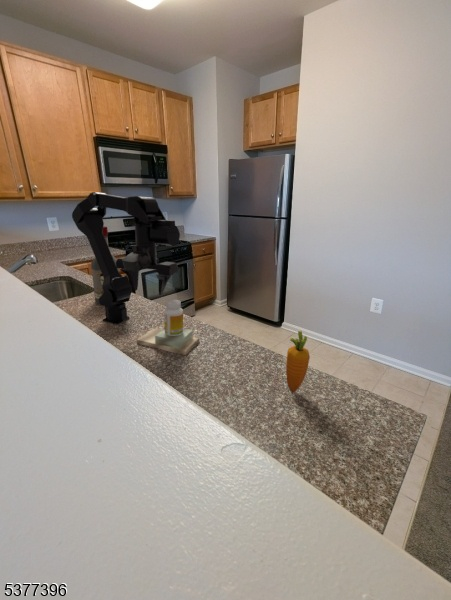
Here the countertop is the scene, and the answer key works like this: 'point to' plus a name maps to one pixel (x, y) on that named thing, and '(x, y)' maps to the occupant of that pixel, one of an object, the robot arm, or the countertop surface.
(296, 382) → the carrot
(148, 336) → the column base
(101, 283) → the liquor
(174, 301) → the supplement bottle
